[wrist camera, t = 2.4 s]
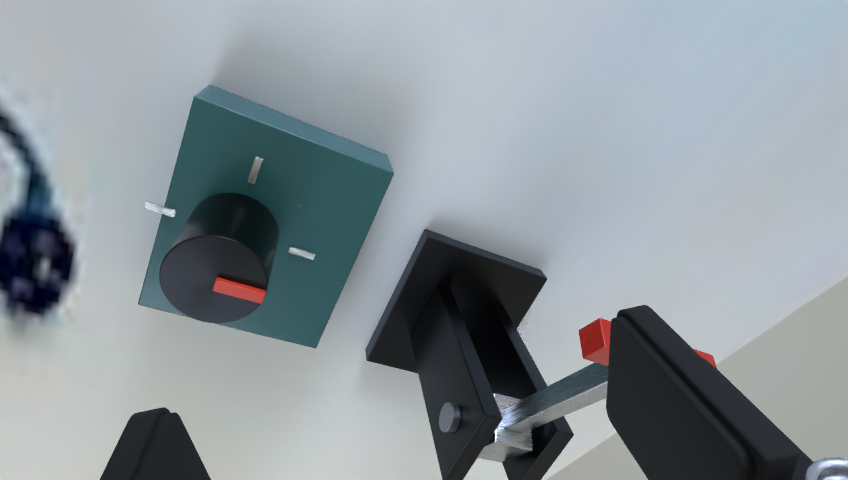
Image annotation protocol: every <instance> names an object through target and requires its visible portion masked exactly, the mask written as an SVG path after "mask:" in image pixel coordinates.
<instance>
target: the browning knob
mask: <svg viewBox="0 0 848 480" xmlns="http://www.w3.org/2000/svg"><path fill="white" fill-rule="evenodd" d="M277 242H278V226H277V223H276V221H275V218H274V216H273V215H272V213H271V212H270V211H269V210H268V209H267V207H265V206H264V205H263V204H262V203H260V202H259V201H258V200H256V199H254V198H252V197H249V196H247V195H243V194H239V193H221V194H216V195H213V196H211V197H209V198H207V199H205V200H204V201H202V202H201V203H200V204H199V205H198V206H197V207H196V208H195V209H194V211H193V212H192V214H191V216H190V217H189V219H188V220H187V222H186V224H185V225H184V227H183V228H182V230H181V231H180V233H179V235H178V236H177V238H176V239H175V241H174V243H173V244H172V246H171V247H170V249H169V250H168V252H167V254H166V255H165V257H164V259H163V260H162V263H161V266H160V271H159V280H160V285H161V288H162V291H163V293H164V295H165V296H166V298H167V299H168V301H169V302H170V303H171V304H172V305H173V306H174V307H175V308H176V309H177V310H179V311H180V312H182V313H183V314H185V315H187V316H189V317H191V318H193V319H196V320H200V321H204V322H210V323H225V322H231V321H235V320H238V319H241V318H243V317H245V316H247V315H249V314H250V313H252V312H253V311H254V310H255V309H256V308H257V307H258V306H259V305H260V304H262V302H263V299H264V297H265V295H266V292H267V288H268V284H269V279H270V274H271V270H272V265H273V261H274V256H275V251H276V247H277Z"/></svg>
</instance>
